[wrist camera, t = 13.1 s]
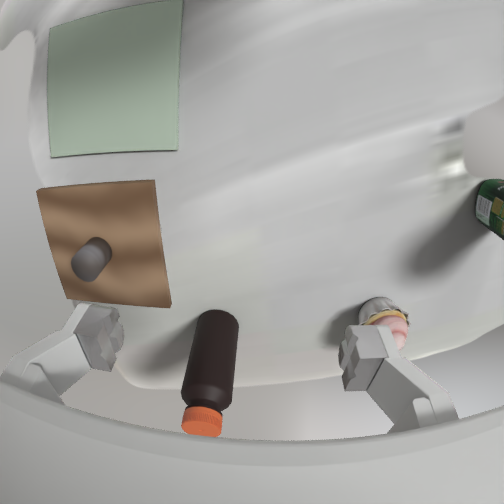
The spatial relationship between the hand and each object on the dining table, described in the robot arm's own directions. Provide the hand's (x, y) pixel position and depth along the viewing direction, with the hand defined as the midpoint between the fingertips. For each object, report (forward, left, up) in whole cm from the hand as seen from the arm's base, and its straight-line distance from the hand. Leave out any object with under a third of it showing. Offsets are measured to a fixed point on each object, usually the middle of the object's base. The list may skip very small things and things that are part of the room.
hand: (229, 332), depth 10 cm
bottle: (+27, -4, -30) cm, 41 cm away
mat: (-11, -19, -30) cm, 37 cm away
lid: (+9, -18, -22) cm, 30 cm away
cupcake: (+23, +22, -30) cm, 44 cm away
